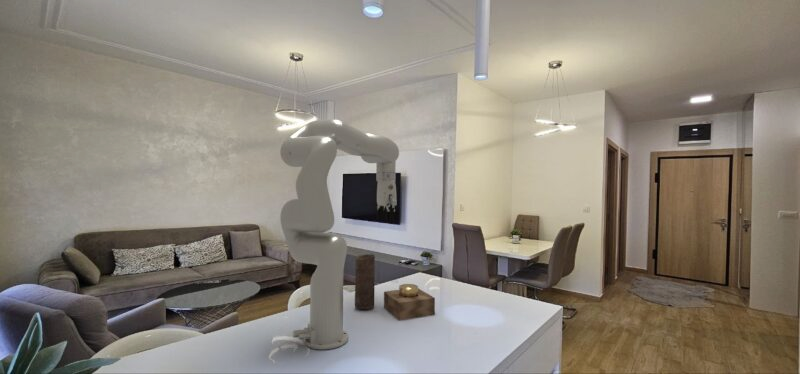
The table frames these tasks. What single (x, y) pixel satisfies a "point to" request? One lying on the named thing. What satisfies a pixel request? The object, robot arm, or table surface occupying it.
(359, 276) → the brown wooden cylinder
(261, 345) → the table surface
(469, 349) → the table surface
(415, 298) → the block
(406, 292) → the pin
